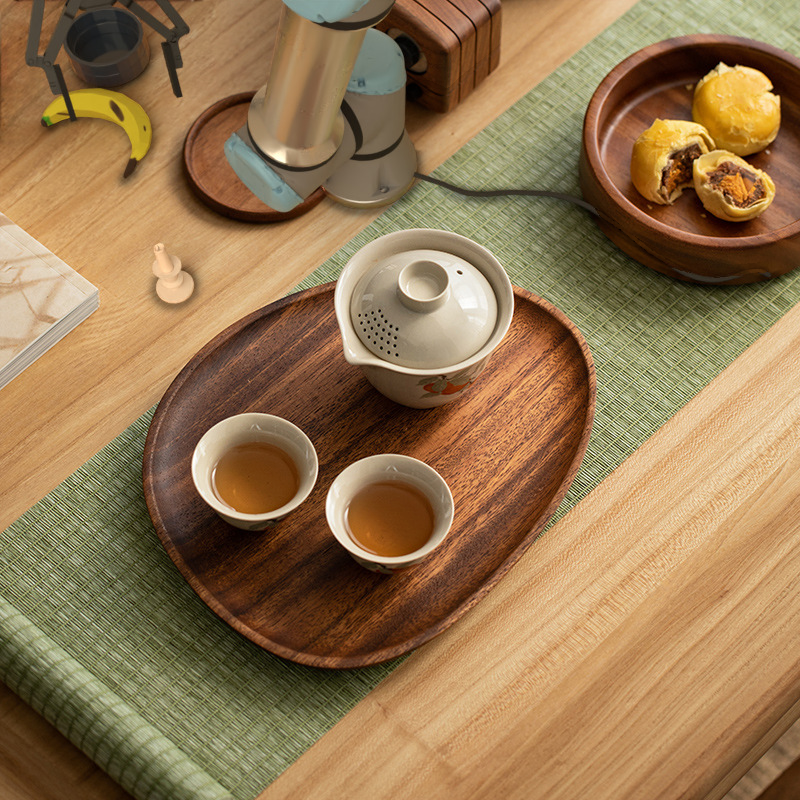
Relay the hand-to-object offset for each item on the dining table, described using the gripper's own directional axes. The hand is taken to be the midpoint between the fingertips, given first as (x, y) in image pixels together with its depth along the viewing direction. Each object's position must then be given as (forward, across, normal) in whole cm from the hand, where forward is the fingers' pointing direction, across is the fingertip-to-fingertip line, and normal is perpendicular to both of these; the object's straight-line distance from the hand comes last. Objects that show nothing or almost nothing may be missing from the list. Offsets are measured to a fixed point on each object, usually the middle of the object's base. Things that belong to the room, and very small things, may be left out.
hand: (126, 107), depth 119 cm
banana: (+9, +4, -21) cm, 23 cm away
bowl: (0, -2, -32) cm, 33 cm away
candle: (+24, +1, +4) cm, 25 cm away
